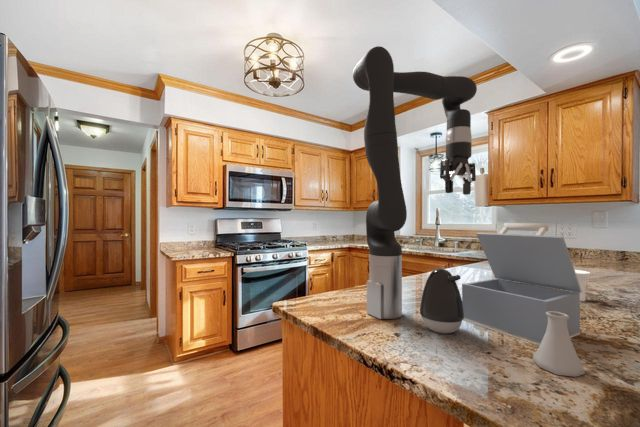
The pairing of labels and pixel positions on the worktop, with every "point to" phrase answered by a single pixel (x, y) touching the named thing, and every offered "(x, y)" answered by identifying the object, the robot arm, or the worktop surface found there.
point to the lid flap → (530, 257)
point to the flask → (558, 348)
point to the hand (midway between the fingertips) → (458, 193)
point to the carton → (518, 308)
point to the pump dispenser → (441, 302)
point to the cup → (582, 282)
